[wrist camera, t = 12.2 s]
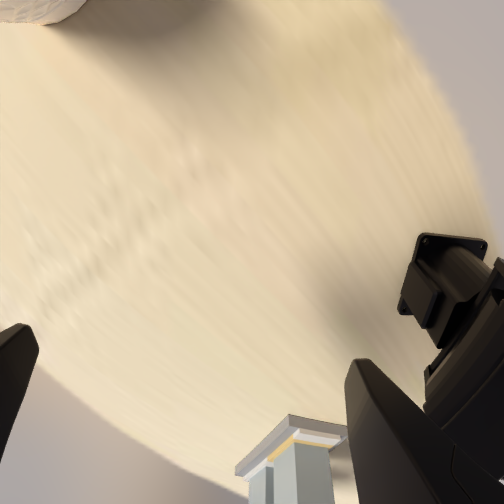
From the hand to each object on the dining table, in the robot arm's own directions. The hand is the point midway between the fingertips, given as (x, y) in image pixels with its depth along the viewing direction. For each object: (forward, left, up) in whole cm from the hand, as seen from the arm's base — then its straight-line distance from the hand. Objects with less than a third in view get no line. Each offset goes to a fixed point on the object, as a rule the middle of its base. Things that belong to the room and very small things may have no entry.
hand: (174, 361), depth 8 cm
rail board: (-7, +28, -13) cm, 31 cm away
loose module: (-8, +25, -11) cm, 29 cm away
